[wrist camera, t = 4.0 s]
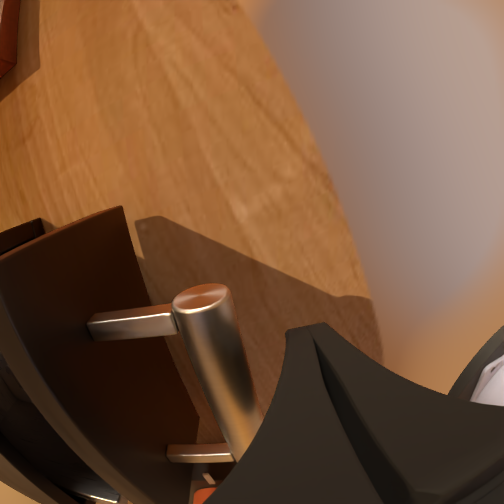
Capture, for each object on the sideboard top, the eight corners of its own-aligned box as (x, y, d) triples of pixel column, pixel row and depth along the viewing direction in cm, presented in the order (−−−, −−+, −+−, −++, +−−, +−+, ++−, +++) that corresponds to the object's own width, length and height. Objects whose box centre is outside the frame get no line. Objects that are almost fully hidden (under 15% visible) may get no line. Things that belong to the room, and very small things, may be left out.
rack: (222, 180, 10) (182, 211, 3) (271, 409, 13) (285, 523, 7) (-42, 265, 10) (-108, 306, 4) (27, 403, 14) (-9, 462, 7)
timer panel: (287, 427, 15) (293, 467, 12) (296, 476, 17) (301, 506, 14) (140, 435, 15) (130, 470, 12) (181, 484, 18) (177, 511, 15)
